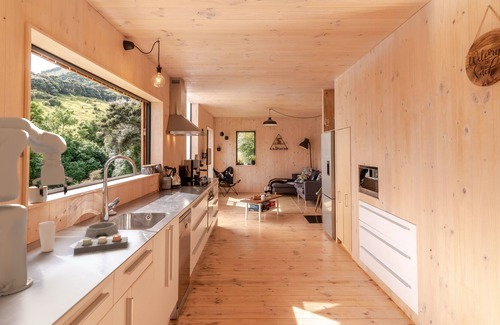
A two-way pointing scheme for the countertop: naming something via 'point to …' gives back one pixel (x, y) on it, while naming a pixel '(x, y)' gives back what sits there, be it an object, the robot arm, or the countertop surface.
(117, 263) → the countertop surface
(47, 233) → the drinking glass
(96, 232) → the dog bowl
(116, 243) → the button panel
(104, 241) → the cream button
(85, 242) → the sage button
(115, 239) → the terracotta button
